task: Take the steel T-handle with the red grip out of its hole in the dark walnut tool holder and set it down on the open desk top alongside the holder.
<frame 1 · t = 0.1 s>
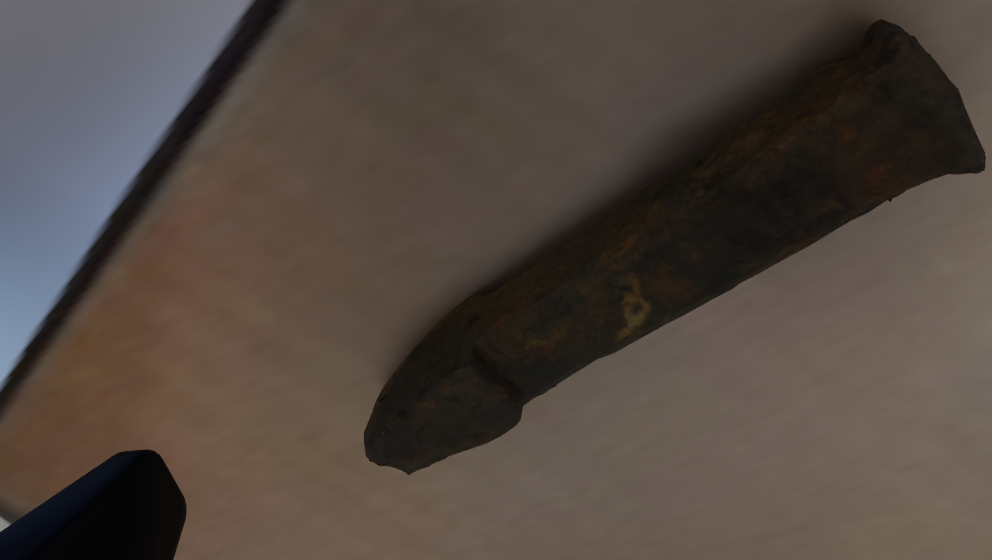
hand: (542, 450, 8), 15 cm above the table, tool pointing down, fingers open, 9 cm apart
hand tool: (617, 259, 24), on the table
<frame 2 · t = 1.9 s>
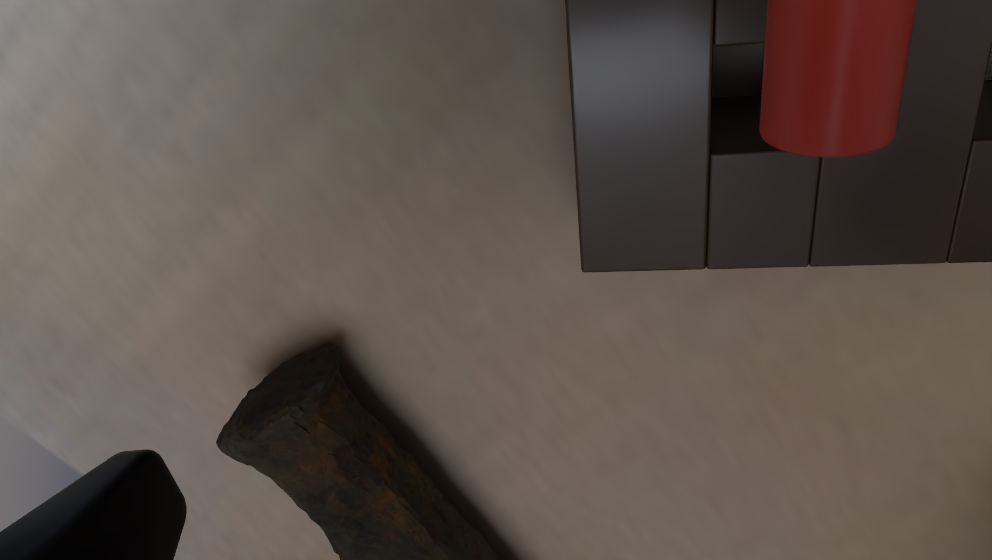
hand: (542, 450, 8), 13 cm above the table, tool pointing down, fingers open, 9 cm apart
hand tool: (474, 523, 29), on the table
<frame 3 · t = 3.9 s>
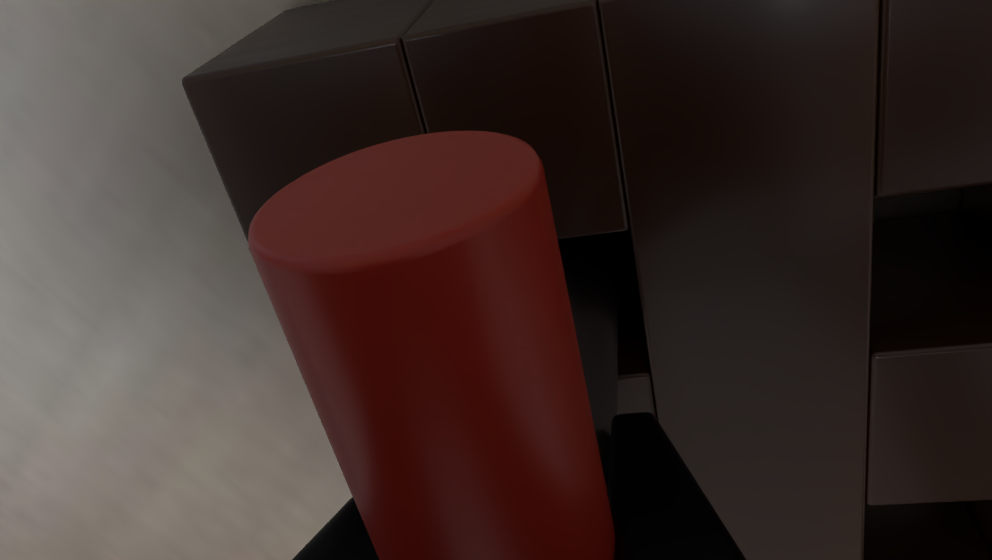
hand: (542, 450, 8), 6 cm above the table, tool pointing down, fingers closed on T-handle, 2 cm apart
tool holder: (731, 306, 14), on the table
T-handle: (569, 200, 13), resting in tool holder, touching gripper
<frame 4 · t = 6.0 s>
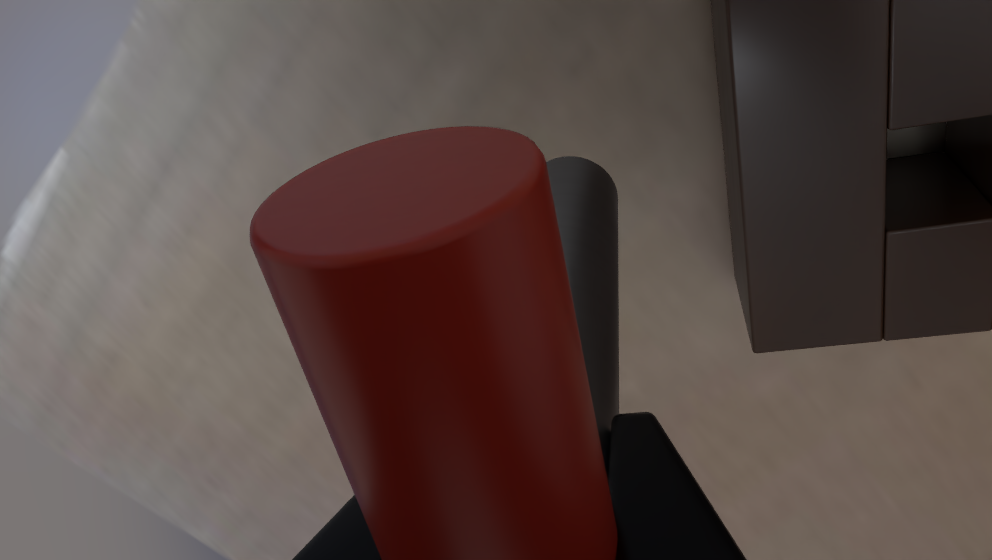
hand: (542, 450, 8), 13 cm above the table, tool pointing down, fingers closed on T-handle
T-handle: (570, 198, 13), point 7 cm above the table, touching gripper
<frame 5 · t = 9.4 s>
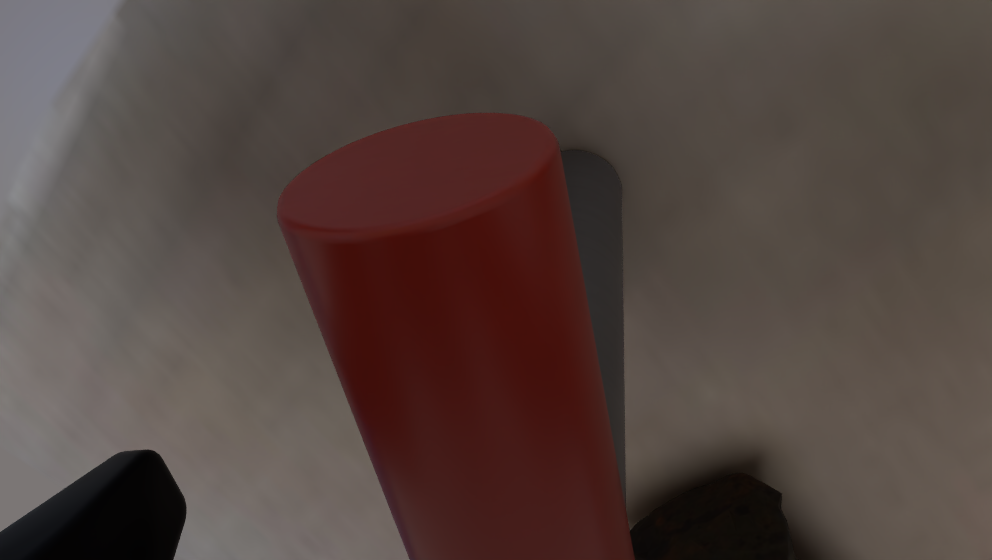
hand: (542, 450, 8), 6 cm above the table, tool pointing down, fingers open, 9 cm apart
T-handle: (575, 192, 14), on the table
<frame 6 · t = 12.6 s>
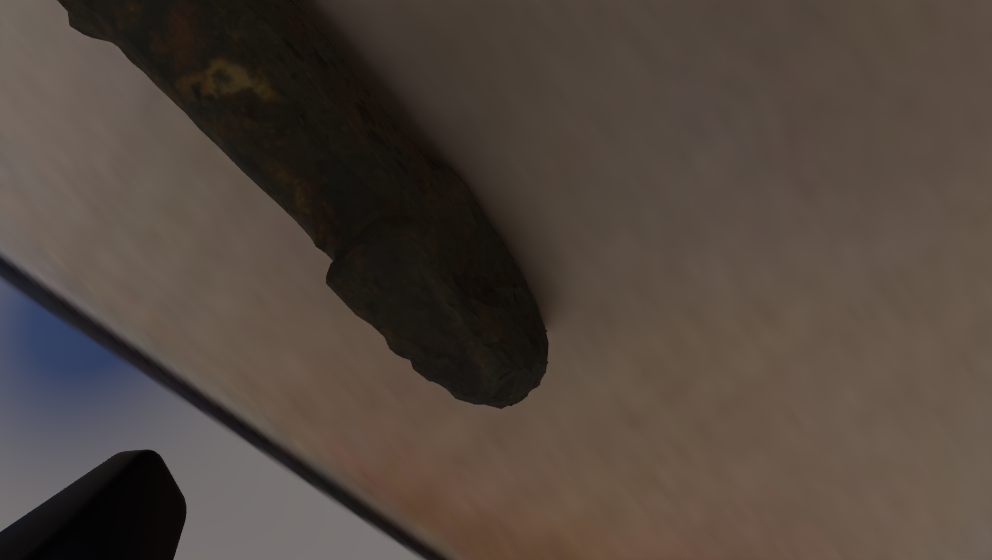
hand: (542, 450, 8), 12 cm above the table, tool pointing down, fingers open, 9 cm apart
hand tool: (321, 47, 19), on the table
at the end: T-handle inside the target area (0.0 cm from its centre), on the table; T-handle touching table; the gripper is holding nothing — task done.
